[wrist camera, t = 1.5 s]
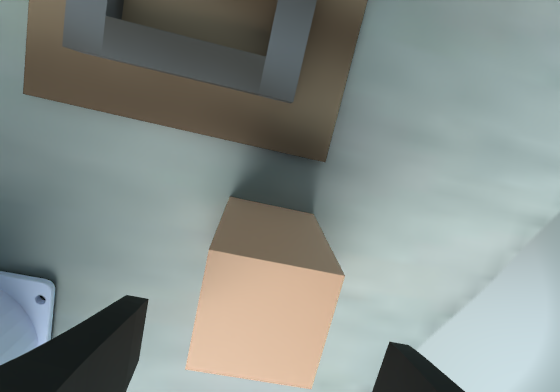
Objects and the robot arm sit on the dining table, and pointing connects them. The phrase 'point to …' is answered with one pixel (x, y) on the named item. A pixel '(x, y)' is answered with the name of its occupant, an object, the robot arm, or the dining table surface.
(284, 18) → the socket board
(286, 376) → the beige upright block
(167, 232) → the dining table surface
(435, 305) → the dining table surface
